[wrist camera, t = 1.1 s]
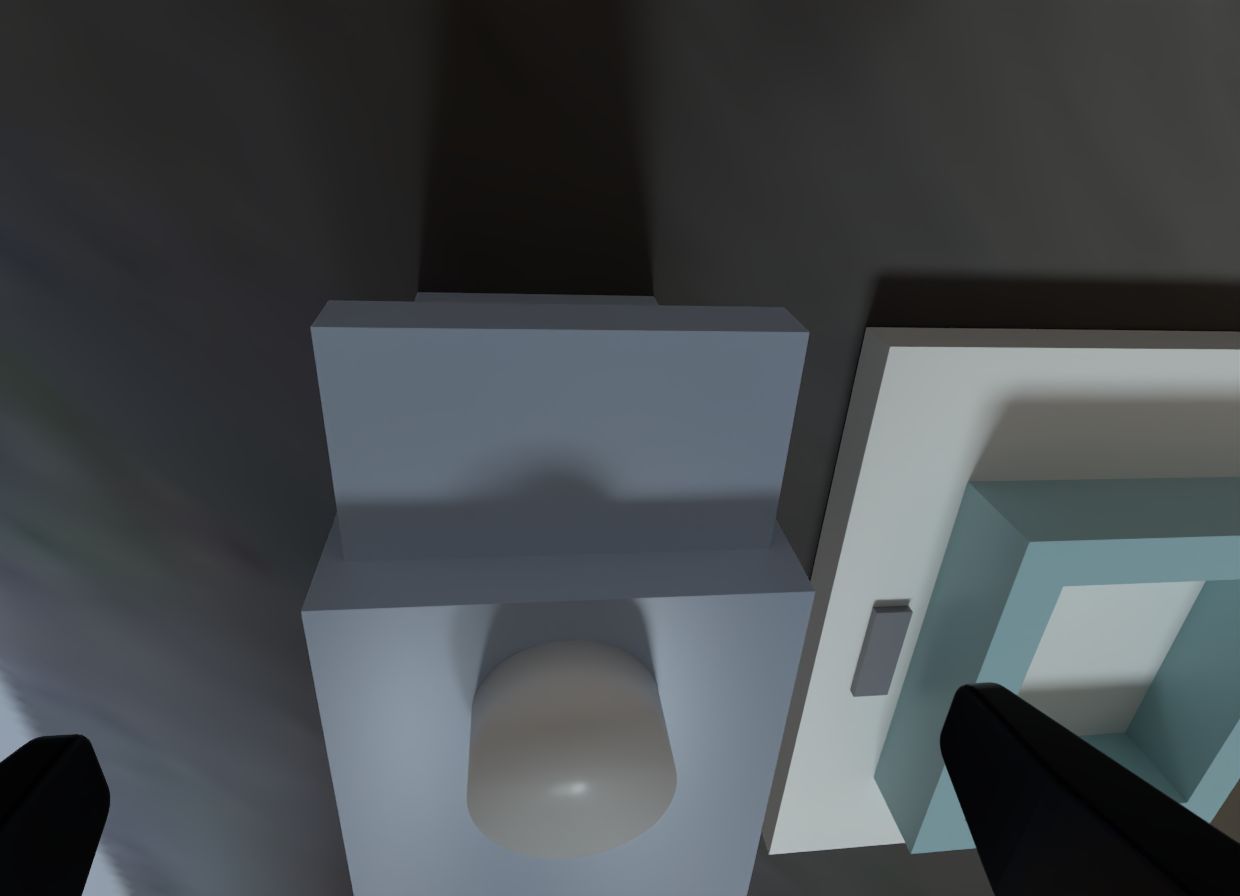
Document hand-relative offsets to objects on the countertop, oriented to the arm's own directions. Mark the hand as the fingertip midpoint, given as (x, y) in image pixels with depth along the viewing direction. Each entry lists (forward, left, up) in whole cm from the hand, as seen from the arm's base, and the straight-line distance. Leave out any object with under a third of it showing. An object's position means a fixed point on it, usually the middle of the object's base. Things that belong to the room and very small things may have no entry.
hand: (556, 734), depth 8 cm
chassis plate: (-5, -12, -7) cm, 15 cm away
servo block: (0, 0, -7) cm, 7 cm away
